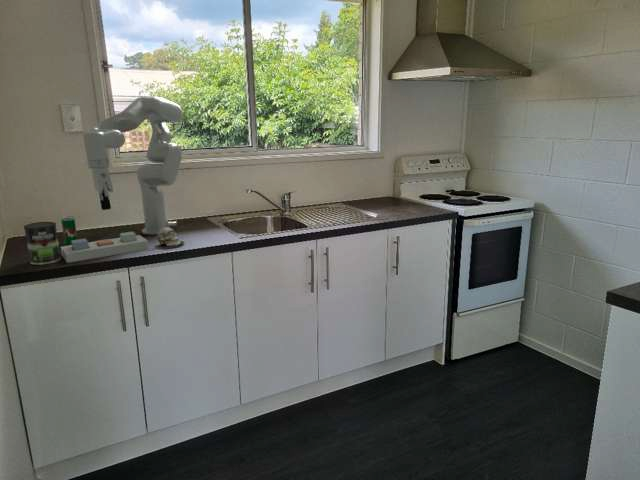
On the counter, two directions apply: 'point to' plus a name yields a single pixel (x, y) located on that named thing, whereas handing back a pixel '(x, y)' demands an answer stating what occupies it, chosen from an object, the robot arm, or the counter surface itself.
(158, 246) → the skull
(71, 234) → the soda can
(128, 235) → the sage key
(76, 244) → the slate key
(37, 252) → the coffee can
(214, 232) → the counter surface
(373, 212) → the counter surface
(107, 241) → the terracotta key
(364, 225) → the counter surface
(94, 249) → the keypad housing
